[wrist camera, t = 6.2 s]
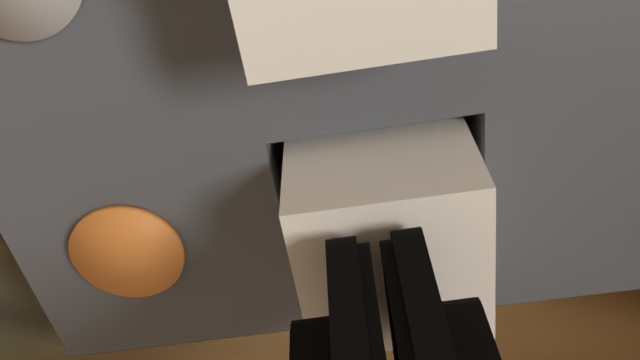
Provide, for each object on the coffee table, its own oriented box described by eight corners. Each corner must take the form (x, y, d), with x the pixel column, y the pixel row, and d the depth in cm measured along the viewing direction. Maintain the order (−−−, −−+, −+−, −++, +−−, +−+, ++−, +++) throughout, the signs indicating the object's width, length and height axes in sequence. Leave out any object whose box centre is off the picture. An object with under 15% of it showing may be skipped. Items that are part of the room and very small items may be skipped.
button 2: (461, 112, 12) (496, 187, 10) (465, 250, 14) (495, 339, 12) (284, 137, 12) (278, 216, 10) (312, 269, 14) (312, 360, 12)
